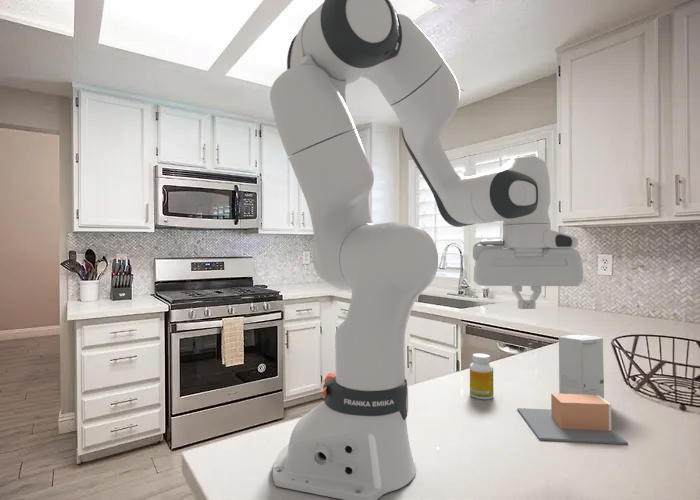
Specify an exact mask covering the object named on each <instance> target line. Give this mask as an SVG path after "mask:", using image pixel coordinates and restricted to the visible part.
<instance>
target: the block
mask: <svg viewBox="0 0 700 500" xmlns="http://www.w3.org/2000/svg"><path fill="white" fill-rule="evenodd" d="M550 394H551V396H550V400H551V408H550V409H551V418H552V419H553V420H554V421H555V422H556V423H557V424H558V426H559V427H560V428H561V429H584V430H606V431H611V428H612V403H610V402H608V401H607V400H606V399H605V398H604V399H603V398H602V397H600V396H599V395H584V394H559V393H555V392H554V393H552V392H551V393H550Z"/></svg>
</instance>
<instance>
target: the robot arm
mask: <svg viewBox="0 0 700 500" xmlns="http://www.w3.org/2000/svg"><path fill="white" fill-rule="evenodd" d="M305 19H306V20H305V21H304V22H303V23H302V25H301V27H300V28H299V30H298V32H297V34H296V35H295V36H294V37H293V39H292V40H291V42H290V44H289V48H288V51H287V58H286V70H285V71H283V72H282V73H281V74H280V75H278V77H277V78H276V79H275V80H274V82H273V84H272V85H271V88H270V92H269V97H270V98H269V99H270V105H271V109H272V113H273V117H274V121H275V124H276V127H277V128H276V129H277V131H278V134H279V137H280V140H281V143H282V146H283V148H284V151H285V154H286V156H287V157H288V160H289V163H290V164H291V165H290V166H291V167H292V170H293V172H294V174H295V177H296V180H297V181H298V184H299V186H300V189H301V191H302V193H303V197H304V199H305V202H306V205H307V208H308V212H309V215H310V219H311V226H312V231H313V237H314V245H315V246H314V248H313V253H312V263H313V268H314V271H315V272H316V274H317V275H318V277H320V279H322V280H323V281H324V282H326V283H328V284H329V285H331V286H333V287H335V288H337V289H340V290H344V291H351V297H350V304H349V307H348V311H347V314H346V317H345V319H344V321H343V322H342V323H340V324H339V326H338V327H337V329H336V332H335V335H334V339H335V347H334V348H335V351H334V352H335V353H334V354H335V355H334V356H335V357H334V358H335V359H334V361H335V362H334V363H335V373H333V372H330V373H328V374H327V375H326V377H325V378H324V382H323V385H322V398H323V399H322V400H323V401H322V402H320V403H319V404H318V405H317V406H315V407H313V408H312V409H311V410H310V411H309V412H307V413H306V414H304V415H303V416H301V418H299V420H298V421H297V422H296V424H295V426H294V427H293V430H292V432H291V434H290V437H289V442H288V444H287V445H286V446H285V447H283V449H282V450H281V451H280V452H279V454H278V456H277V457H276V458H275V461H274V465H273V467H272V480H273V483H274V485H275V486H276V487H279V488H284V489H288V490H294V491H299V492H305V493H308V494H309V493H310V494H314V495H319V496H323V497H329V498H335V499H340V500H379V499H380V498H381V497H382V496H384V495H385V494H388V493H390V492H393V491H396V490H399V489H401V488H403V487H405V486H406V485H407V484H409V483H410V482H411V481H412V480H413V479H414V477H415V474H416V464H415V461H414V457H413V454H412V450H411V444H410V440H409V433H408V423H407V417H408V413H409V387H408V380H407V379H406V378H405V357H406V356H405V354H406V353H405V352H406V348H405V347H406V334H407V333H406V332H407V326H408V323H409V319H410V316H411V313H412V310H413V307H414V305H415V303H416V301H417V299H418V298H419V297H420V295H421V294H422V293H423V292H424V291H425V290H427V288H429V286H431V284H432V282H433V281H434V280H435V277H436V274H437V271H438V266H439V252H438V248H437V246H436V243H435V241H434V239H433V238H432V236H431V235H430V234H429V233H428V232H427V231H426V230H424V229H422V228H421V227H419V226H418V227H417V226H414V225H409V224H405V223H401V222H400V223H399V222H393V221H392V222H383V223H382V222H381V223H373V220H372V217H371V213H370V204H369V202H370V201H369V200H370V199H369V198H370V191H372V188H373V186H374V182H375V176H374V172H373V169H372V167H371V164H370V161H369V159H368V156H367V154H366V150H365V149H364V148H365V147H364V146H363V144H362V143H363V142H362V141H361V138H360V136H359V132H358V130H357V127H356V125H355V123H354V120H353V118H352V115H351V113H350V111H349V109H348V105H347V101H346V100H347V99H346V86H347V85H350V84H353V83H354V82H356V81H358V80H359V79H360V78H361V77H362V78H365V79H367V80H369V81H370V82H372V83H374V85H376V87H377V88H378V90H379V92H380V93H381V95H382V96H383V97H384V98H385V100H386V102H387V103H388V104H389V106H390V107H391V108H392V110H393V111H394V113H395V115H396V117H397V118H398V121H399V123H400V125H401V135H402V136H401V137H402V140H403V143H404V146H405V147H406V150H407V151H408V153H409V155H410V156H411V158H412V160H413V162H414V164H415V165H416V167H417V169H418V171H419V172H420V174H421V176H422V177H423V179H424V180H425V182H426V184H427V186H428V188H429V190H430V191H431V193H432V195H433V197H434V198H433V199H434V200H435V203H436V206H437V210H438V212H439V214H440V215H441V217H442V219H443V220H444V221H445V222H446V223H448V224H449V225H450V226H452V227H455V228H461V227H466V226H473V225H477V224H479V225H480V224H488V223H490V224H491V223H495V222H496V223H497V222H502V239H494V240H493V239H492V240H487V239H482V240H480V241H479V242H476V243H475V244H474V245H473V247H472V258H473V260H474V269H473V281H474V283H475V284H477V285H478V286H480V287H481V286H483V287H487V286H489V287H490V286H491V287H511V291H512V293H513V295H514V296H515V298H516V300H517V308H518V309H520V310H535V309H536V304H537V303H536V301H537V300H538V298H539V296H540V295H541V294H542V287H579V286H580V285H582V283H583V282H584V268H583V267H584V266H583V259H582V255H581V254H580V252H579V251H578V250H577V249H576V248H578V245H579V240H578V238H577V237H576V236H573V235H570V234H566V233H561V232H558V231H555V230H552V229H551V223H552V222H551V219H550V216H549V209H550V205H551V184H550V175H549V169H548V166H547V164H546V161H545V160H544V159H542V158H540V157H536V156H532V155H529V156H528V155H520V156H514V157H511V158H509V159H508V160H506V163H505V164H503V165H502V166H501V167H499V168H496V169H493V170H491V171H486V172H483V173H480V174H475V175H471V176H463V175H461V174H458V172H456V171H455V168H454V167H453V164H452V163H451V161H450V160H449V158H448V155H447V154H446V152H445V150H444V148H443V146H442V144H441V139H440V138H441V133H442V132H443V131H444V129H445V128H446V127H447V126H448V124H449V123H450V122H451V121H452V119H453V118H454V116H455V114H456V112H457V110H458V107H459V104H460V99H461V98H460V96H461V93H460V92H461V89H460V85H459V83H458V81H457V78H456V76H455V74H454V73H453V71H452V69H451V67H449V65H448V63H447V62H446V60H445V58H444V57H443V56H442V54H441V53H440V52H439V49H437V47H436V46H435V44H433V42H432V41H431V40H430V39H429V37H428V36H427V35H426V33H424V32H423V31H422V29H421V28H420V27H419V26H418V25H417V24H416V23H415V22H414V21H413V20H412V19H411V18H410V17H408V16H407V15H405V14H402V13H398V12H397V11H396V9H395V8H394V5H393V4H392V2H391V1H390V0H324V1H323V3H321V4H320V5H319V6H318V7H317V8H316V9H315V10H314V11H313V12H311V14H309V16H308V17H307V18H305ZM477 285H476V286H477ZM523 287H530V291H532V293H531V295H530V297H529V298H528V299H527V298H526V299H524V298H523V296H522V294H521V293H522V292H523Z"/></svg>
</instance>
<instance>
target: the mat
mask: <svg viewBox="0 0 700 500" xmlns="http://www.w3.org/2000/svg"><path fill="white" fill-rule="evenodd" d="M516 410H517V411H518V413H519V414H520V415H521V417H522V419H523V420H524V421H525V422H526V424H527V425H528V427H529V428H530V429H531V430H532V432H533V433H534V434H535V436H536V438H537V439H538V440H539V441H553V442H568V443H569V442H570V443H571V442H573V443H575V442H576V443H590V444H591V443H594V444H611V445H613V444H614V445H628V444H629V442H628V441H627V440H626V439H624V437H623V436H621V435H620V434H619V433H617V432H616V431H615V430H614V429H613V428H612V427H611V431H606V430H584V429H561V428H560V427H559V426H558V424H557V423H556V422H555V421H554V420H553V419H552V418H551V408H550V409H547V408H522V407H521V408H520V407H518V408H517V409H516Z"/></svg>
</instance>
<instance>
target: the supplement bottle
mask: <svg viewBox="0 0 700 500" xmlns="http://www.w3.org/2000/svg"><path fill="white" fill-rule="evenodd" d="M472 361H473V362H471V363H470V365H469V396H471V397H472V398H474V399H477V400H484V401H485V400H492V399H493V398H494V366H493V365H492V364H490V363H491V355H489V354H486V353H479V352H478V353H473V354H472Z"/></svg>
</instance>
